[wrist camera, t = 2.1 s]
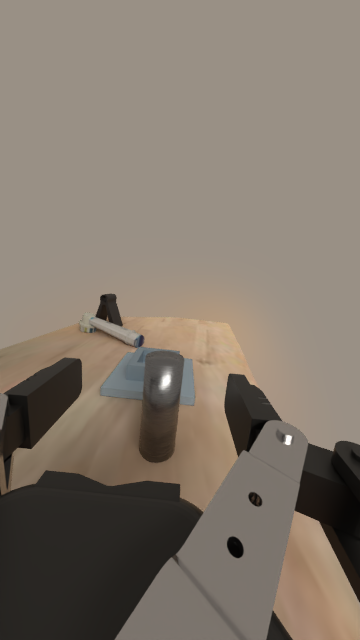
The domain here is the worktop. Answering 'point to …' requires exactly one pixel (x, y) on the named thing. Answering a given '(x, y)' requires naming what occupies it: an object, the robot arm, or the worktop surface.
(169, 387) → the steel axle
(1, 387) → the worktop surface
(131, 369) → the block
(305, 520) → the worktop surface
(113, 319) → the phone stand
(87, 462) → the worktop surface
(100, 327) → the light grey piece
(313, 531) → the worktop surface
